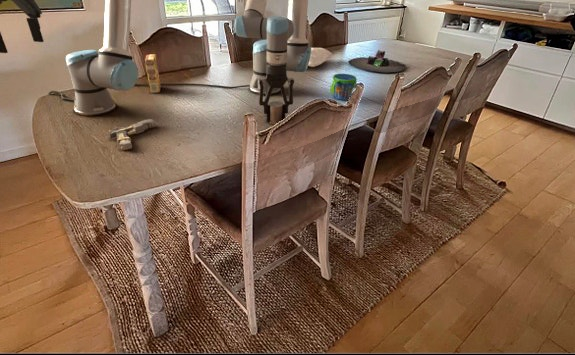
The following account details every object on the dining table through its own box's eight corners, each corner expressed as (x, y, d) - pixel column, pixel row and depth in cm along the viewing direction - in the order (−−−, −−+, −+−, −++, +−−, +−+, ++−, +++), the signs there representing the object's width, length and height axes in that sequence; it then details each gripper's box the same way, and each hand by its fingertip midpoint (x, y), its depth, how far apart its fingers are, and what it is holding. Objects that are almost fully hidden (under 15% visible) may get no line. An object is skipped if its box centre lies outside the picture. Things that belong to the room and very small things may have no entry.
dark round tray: (418, 67, 219) (420, 52, 215) (377, 75, 202) (379, 59, 197) (375, 58, 244) (377, 43, 239) (336, 64, 226) (337, 49, 222)
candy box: (159, 92, 169) (154, 59, 161) (150, 93, 168) (144, 59, 160) (161, 86, 176) (156, 54, 168) (151, 86, 175) (146, 54, 167)
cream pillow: (271, 61, 216) (273, 46, 210) (312, 52, 236) (315, 38, 230) (297, 77, 204) (300, 61, 198) (339, 66, 224) (342, 52, 218)
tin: (281, 125, 144) (282, 107, 140) (267, 124, 144) (267, 106, 140) (283, 119, 149) (284, 101, 145) (269, 118, 149) (269, 100, 145)
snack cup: (347, 91, 179) (350, 71, 174) (362, 98, 172) (365, 77, 167) (322, 97, 172) (324, 75, 166) (336, 104, 165) (339, 82, 159)
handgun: (169, 128, 131) (147, 116, 139) (122, 144, 120) (101, 130, 128) (170, 135, 133) (148, 122, 141) (123, 152, 121) (102, 137, 129)
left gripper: (-40, -38, 81) (-3, 58, 93) (40, -41, 102) (62, 38, 113) (-70, -40, 82) (-29, 56, 93) (16, -42, 103) (41, 36, 114)
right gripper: (251, 65, 129) (252, 125, 142) (303, 65, 132) (300, 124, 145) (250, 60, 135) (251, 117, 148) (299, 59, 138) (296, 116, 151)
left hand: (21, 46), depth 103 cm, fingers open, 13 cm apart
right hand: (275, 120), depth 146 cm, fingers closed on tin, 6 cm apart
